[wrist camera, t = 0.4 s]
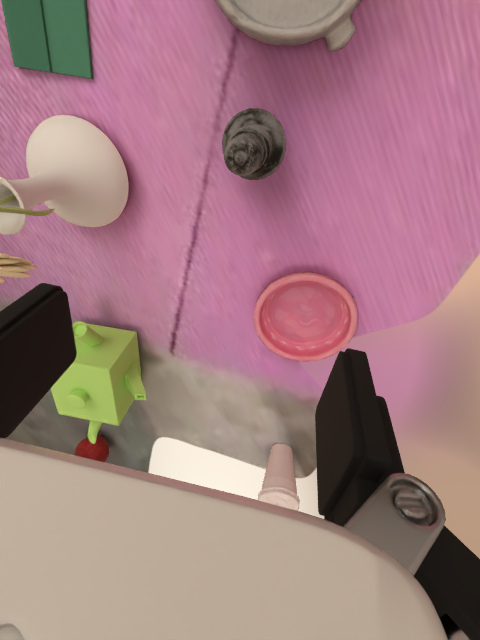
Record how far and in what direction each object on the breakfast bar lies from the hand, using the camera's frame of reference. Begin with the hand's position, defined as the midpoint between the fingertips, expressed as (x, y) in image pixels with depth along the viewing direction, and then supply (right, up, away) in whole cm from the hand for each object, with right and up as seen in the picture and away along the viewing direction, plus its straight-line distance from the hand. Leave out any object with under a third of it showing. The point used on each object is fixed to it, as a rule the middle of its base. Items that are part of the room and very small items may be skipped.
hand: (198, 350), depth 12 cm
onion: (-25, -22, +55) cm, 64 cm away
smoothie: (+9, -22, +48) cm, 54 cm away
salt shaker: (+3, +19, +23) cm, 30 cm away
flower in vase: (-15, +18, +27) cm, 36 cm away
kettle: (-19, -4, +42) cm, 46 cm away
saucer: (+10, +3, +32) cm, 34 cm away
